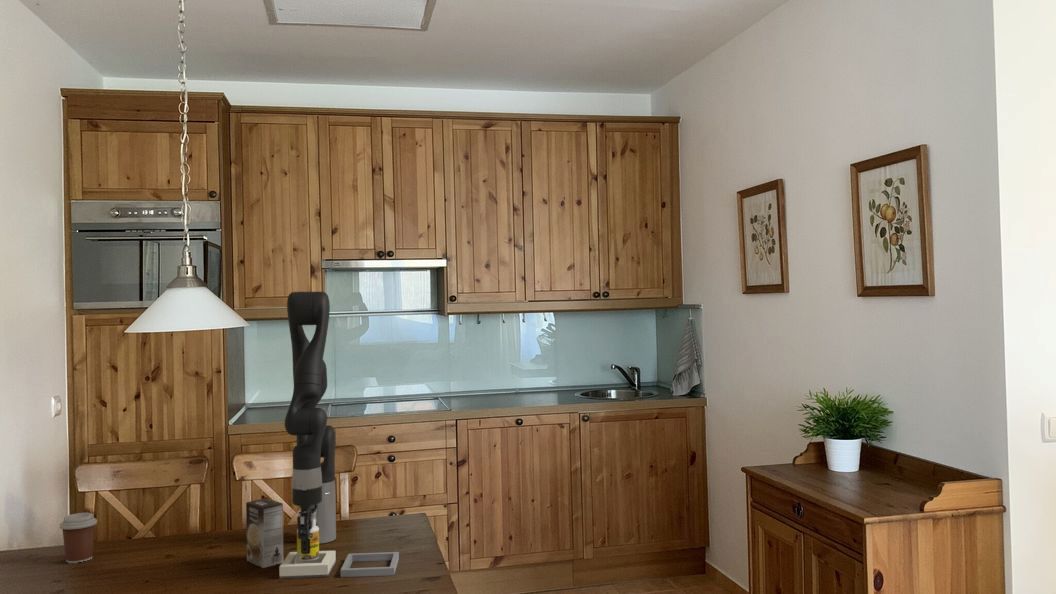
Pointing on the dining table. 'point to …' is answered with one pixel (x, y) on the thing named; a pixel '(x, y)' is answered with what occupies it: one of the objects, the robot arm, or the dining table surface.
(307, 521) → the robot arm
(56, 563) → the dining table surface
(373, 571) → the tray
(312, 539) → the supplement bottle
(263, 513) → the coffee box
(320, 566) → the holder
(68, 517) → the coffee cup
